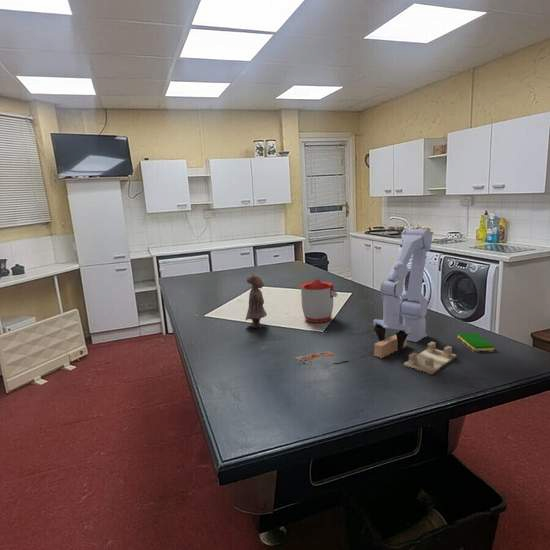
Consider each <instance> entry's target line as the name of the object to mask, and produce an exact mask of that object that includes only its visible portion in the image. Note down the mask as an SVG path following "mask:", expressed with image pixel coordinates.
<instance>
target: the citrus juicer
mask: <svg viewBox="0 0 550 550" xmlns="http://www.w3.org/2000/svg"><path fill="white" fill-rule="evenodd" d="M299 286H300V294H301V295H300V296H301V308H302V312H303V316H304V318H305V320H306V321H307V322H309V321H310V323H325V322H327V321H329V320H331V318H332V313H333V310H334V298H337V297H338V293H337V292H336V291H334V283H332V282H330V281H322V280H319V278H316V279H314V280H313V281H309V282H304V283H301V284H300V285H299Z"/></svg>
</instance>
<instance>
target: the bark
mask: <svg viewBox="0 0 550 550" xmlns="http://www.w3.org/2000/svg"><path fill="white" fill-rule="evenodd" d="M321 354H322V355H323V356H327V357H326V358H328V356H329V355H330V356H335V355H336V353H334V352H332V351H321V352H316V353H315V352H314V353H310V354H309V353H308V354H305V355H299V356H296V357H294V358H297V359H300V360H301V359H302V360H304V361H307V359H308V360H309V361H310V363H311V362H315V361H314V360H318V359H317V357H318V358H319V356H320V355H321ZM332 354H334V355H332ZM320 357H321V356H320ZM335 357H336V356H335ZM304 358H306V359H304ZM310 358H311V360H310ZM320 359H321V358H320ZM320 359H319V360H320ZM309 361H308V362H309ZM308 362H307V363H308Z"/></svg>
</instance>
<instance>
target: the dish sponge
mask: <svg viewBox="0 0 550 550" xmlns="http://www.w3.org/2000/svg"><path fill="white" fill-rule="evenodd" d="M458 338H460V339H461V340H462V341H463V342H465V343H466V344H467V345H468V346H470V347H471V348H472V349H474V350H494V351H495V346H494V345H493V344H492V343H491V342H489V341H488V340H487V339H485V338H484V337H482V336H481V335H479V334H478V333H477V332H465V333H457V339H458ZM463 342H462V343H463ZM468 346H467V347H468Z"/></svg>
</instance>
